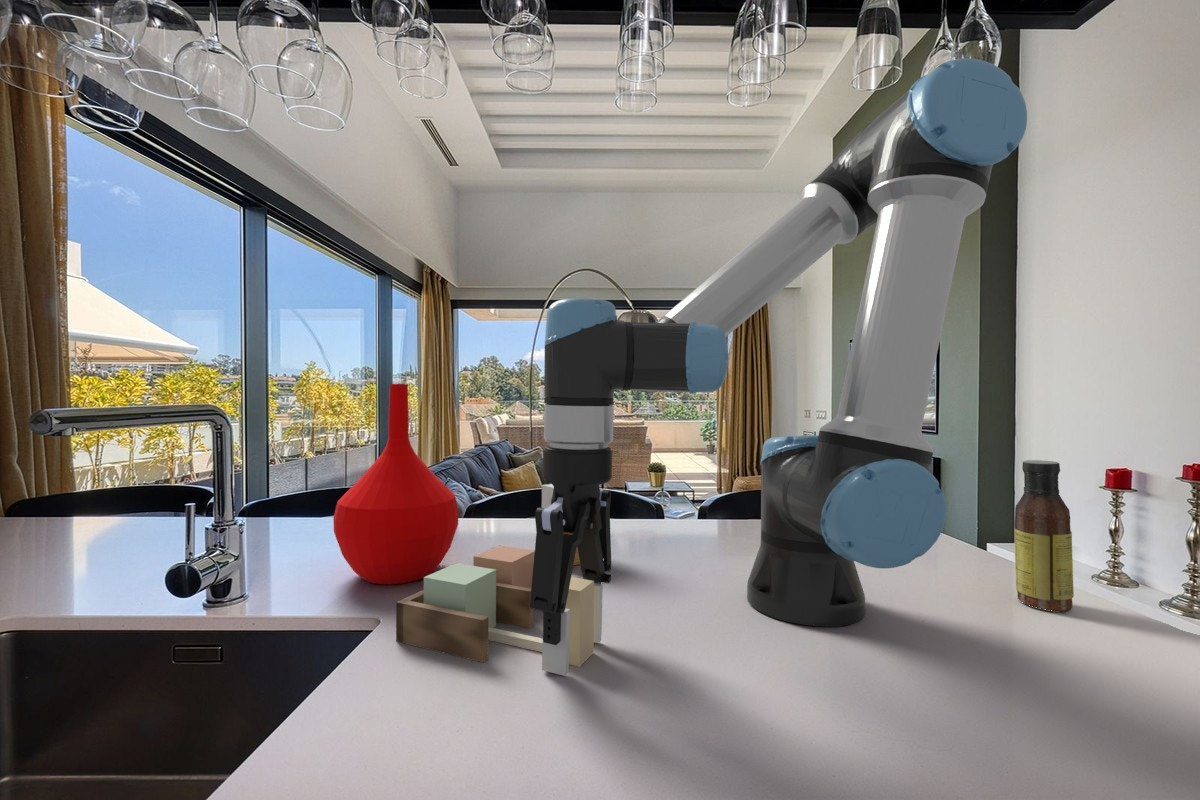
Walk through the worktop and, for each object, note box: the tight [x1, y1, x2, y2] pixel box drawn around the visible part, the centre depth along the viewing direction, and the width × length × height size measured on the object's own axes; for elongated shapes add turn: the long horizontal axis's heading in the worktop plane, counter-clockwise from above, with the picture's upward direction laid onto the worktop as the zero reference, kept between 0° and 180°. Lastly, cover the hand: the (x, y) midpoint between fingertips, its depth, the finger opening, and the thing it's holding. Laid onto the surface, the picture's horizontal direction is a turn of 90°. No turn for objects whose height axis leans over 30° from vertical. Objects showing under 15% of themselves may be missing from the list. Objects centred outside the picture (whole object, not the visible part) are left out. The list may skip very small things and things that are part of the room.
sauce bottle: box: [1014, 459, 1075, 613], centre depth 77 cm, size 7×6×20 cm
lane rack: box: [395, 582, 535, 663], centre depth 71 cm, size 12×20×4 cm, turn 156°
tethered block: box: [423, 562, 595, 668], centre depth 64 cm, size 20×6×8 cm, turn 66°
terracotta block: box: [472, 544, 535, 588], centre depth 76 cm, size 6×6×7 cm
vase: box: [332, 383, 459, 585], centre depth 87 cm, size 18×18×30 cm
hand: (573, 654), depth 61 cm, fingers open, 7 cm apart
